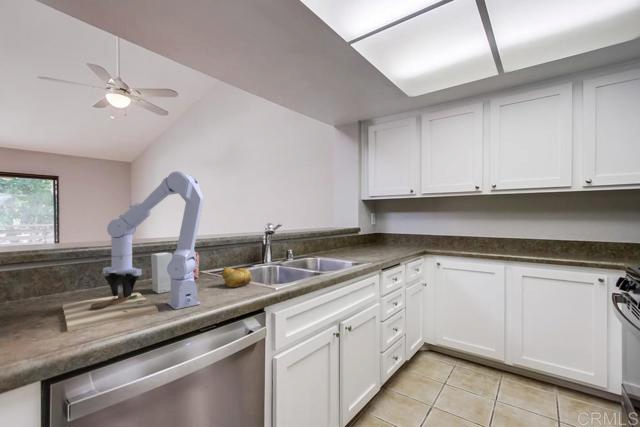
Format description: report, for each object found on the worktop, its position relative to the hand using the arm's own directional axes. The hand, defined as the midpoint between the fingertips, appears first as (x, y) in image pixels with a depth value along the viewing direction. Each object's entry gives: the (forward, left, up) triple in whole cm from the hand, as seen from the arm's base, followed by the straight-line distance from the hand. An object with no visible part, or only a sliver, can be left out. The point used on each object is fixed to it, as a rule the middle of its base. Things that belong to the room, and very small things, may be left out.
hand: (122, 296), depth 97 cm
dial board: (-4, +4, -3) cm, 6 cm away
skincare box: (+10, -15, -3) cm, 18 cm away
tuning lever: (-2, +2, -1) cm, 3 cm away
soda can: (+19, -29, -3) cm, 35 cm away
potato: (-2, -42, -3) cm, 42 cm away
